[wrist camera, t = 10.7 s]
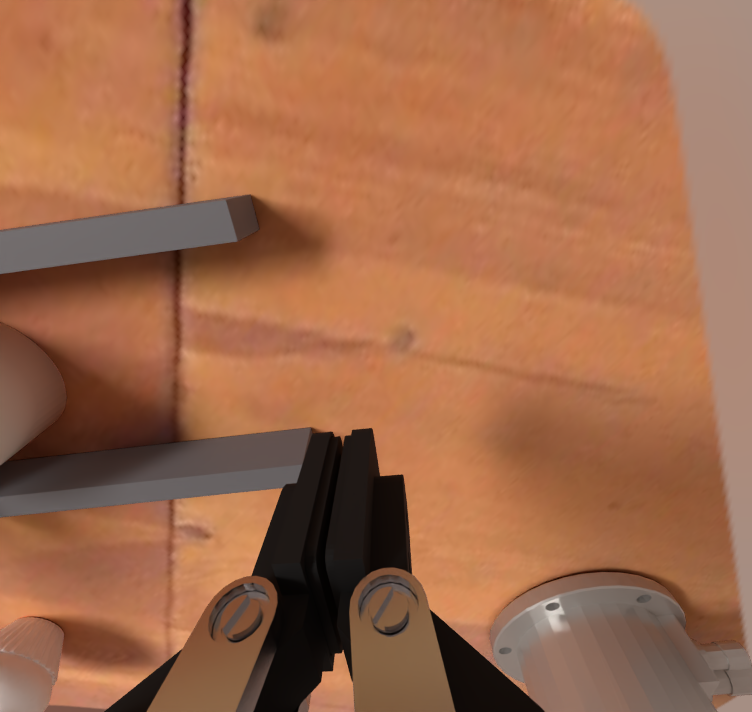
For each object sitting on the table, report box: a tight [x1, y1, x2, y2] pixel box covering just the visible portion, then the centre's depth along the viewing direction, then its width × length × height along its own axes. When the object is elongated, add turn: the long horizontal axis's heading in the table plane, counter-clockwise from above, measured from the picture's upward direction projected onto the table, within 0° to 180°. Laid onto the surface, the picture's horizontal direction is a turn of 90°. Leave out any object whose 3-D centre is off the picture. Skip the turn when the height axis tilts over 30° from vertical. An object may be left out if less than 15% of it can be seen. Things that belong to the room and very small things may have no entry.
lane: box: [0, 195, 312, 517], centre depth 14 cm, size 20×12×5 cm, turn 97°
